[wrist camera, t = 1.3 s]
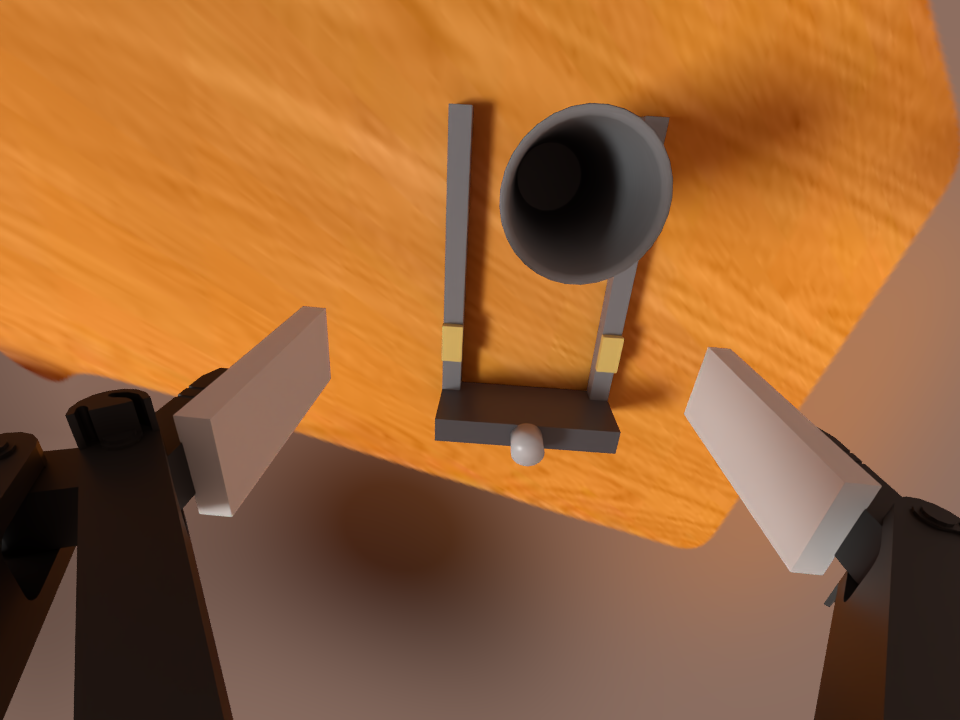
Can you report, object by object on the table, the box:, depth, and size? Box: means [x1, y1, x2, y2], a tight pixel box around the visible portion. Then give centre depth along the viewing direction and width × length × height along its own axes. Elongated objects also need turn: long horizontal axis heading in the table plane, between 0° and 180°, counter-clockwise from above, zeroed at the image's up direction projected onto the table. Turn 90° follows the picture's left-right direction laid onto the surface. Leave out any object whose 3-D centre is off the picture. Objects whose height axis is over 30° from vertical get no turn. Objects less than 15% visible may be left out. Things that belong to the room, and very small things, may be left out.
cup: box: [500, 103, 673, 285], centre depth 24 cm, size 7×7×15 cm
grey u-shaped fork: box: [435, 104, 670, 466], centre depth 31 cm, size 23×14×8 cm, turn 177°
